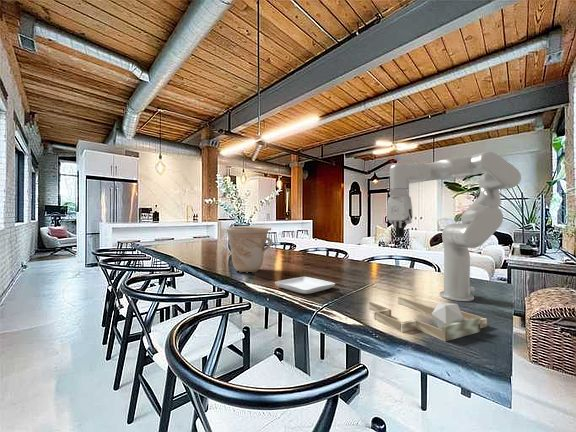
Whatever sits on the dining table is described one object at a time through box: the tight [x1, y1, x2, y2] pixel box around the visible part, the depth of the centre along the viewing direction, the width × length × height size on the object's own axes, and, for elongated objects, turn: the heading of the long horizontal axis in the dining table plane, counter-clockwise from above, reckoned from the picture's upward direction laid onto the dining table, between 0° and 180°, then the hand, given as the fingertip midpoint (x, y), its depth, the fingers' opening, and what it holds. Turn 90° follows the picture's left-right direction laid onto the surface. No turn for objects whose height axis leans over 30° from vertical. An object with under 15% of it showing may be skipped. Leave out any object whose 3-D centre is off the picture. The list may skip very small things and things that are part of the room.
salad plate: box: [274, 276, 336, 295], centre depth 135 cm, size 21×21×3 cm
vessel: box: [224, 225, 273, 274], centre depth 177 cm, size 29×29×30 cm
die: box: [432, 301, 465, 329], centre depth 87 cm, size 8×9×10 cm
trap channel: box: [368, 296, 488, 342], centre depth 96 cm, size 28×30×4 cm
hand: (399, 237), depth 120 cm, fingers closed
